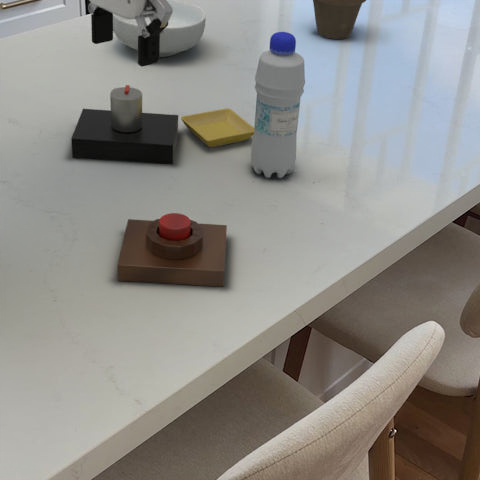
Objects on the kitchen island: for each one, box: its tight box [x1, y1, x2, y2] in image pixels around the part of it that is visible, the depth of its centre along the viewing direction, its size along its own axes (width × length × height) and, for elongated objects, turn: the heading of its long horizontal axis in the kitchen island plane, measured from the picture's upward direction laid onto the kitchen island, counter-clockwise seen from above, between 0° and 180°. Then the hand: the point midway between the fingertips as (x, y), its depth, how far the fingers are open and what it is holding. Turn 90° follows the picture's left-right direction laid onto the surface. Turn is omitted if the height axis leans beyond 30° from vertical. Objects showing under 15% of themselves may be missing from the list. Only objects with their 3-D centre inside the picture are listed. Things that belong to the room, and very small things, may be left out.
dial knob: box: [109, 84, 143, 132], centre depth 125 cm, size 4×4×5 cm
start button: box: [159, 212, 191, 241], centre depth 103 cm, size 4×4×2 cm
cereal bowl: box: [113, 0, 207, 58], centre depth 159 cm, size 17×17×7 cm
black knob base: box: [70, 108, 179, 165], centre depth 128 cm, size 14×10×3 cm
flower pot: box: [312, 0, 367, 40], centre depth 172 cm, size 12×11×10 cm
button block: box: [117, 218, 228, 287], centre depth 104 cm, size 12×10×4 cm
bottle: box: [250, 31, 306, 179], centre depth 120 cm, size 7×7×20 cm
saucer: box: [180, 108, 255, 149], centre depth 133 cm, size 9×9×2 cm
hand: (125, 52), depth 119 cm, fingers open, 9 cm apart
